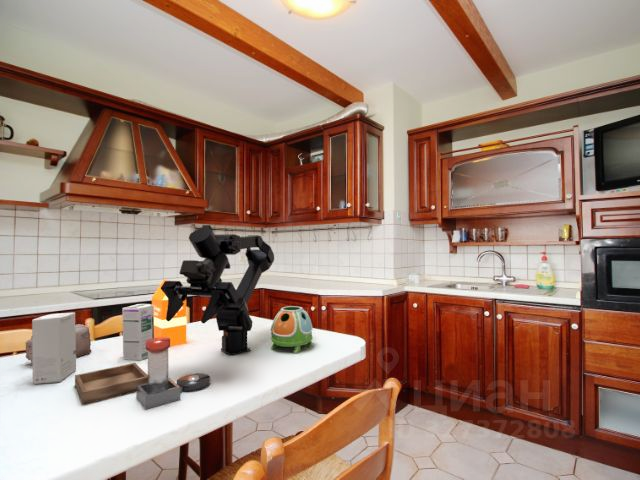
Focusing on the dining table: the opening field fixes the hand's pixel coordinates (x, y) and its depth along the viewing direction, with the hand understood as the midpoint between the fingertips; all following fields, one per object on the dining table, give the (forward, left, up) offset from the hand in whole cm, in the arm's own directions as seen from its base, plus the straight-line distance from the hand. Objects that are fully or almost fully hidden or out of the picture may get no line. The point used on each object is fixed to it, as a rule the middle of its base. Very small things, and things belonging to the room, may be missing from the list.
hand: (184, 321), depth 81 cm
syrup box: (+3, -27, -14) cm, 30 cm away
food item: (+20, -40, -14) cm, 47 cm away
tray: (+13, -8, -14) cm, 21 cm away
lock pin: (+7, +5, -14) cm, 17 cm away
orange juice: (-8, -36, -14) cm, 39 cm away
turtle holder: (-36, -7, -14) cm, 39 cm away
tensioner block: (+3, +4, -14) cm, 15 cm away
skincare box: (+22, -24, -14) cm, 35 cm away
